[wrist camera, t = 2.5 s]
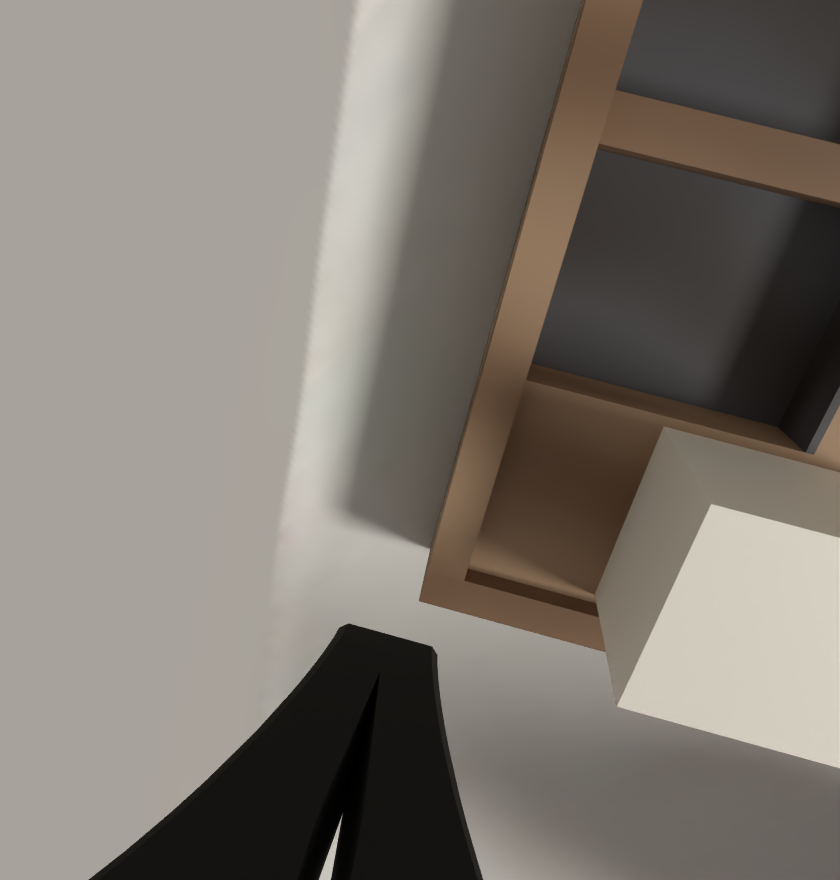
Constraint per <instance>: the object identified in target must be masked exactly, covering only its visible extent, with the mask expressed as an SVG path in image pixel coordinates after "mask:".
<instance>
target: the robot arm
mask: <svg viewBox="0 0 840 880" xmlns="http://www.w3.org/2000/svg"><path fill="white" fill-rule="evenodd" d="M342 814H343V815H342ZM341 816H342V821H341V826H340V832H339V838H338V843H337V849H336V855H335V860H334V866H333V871H332V877H331V880H483V878H482V874H481V871H480V868H479V865H478V861H477V858H476V854H475V851H474V847H473V844H472V840H471V837H470V833H469V830H468V827H467V823H466V819H465V815H464V811H463V807H462V804H461V800H460V796H459V791H458V787H457V783H456V778H455V774H454V769H453V765H452V761H451V756H450V752H449V747H448V742H447V737H446V731H445V725H444V719H443V713H442V707H441V700H440V692H439V682H438V668H437V654H436V652H435V651H434V649H433V647H432V646H428V645H425V644H421V643H417V642H414V641H410V640H406V639H403V638H399V637H396V636H392V635H388V634H385V633H381V632H377V631H374V630H370V629H367V628H363V627H359V626H356V625H352V624H346V625H344V626H342V627H340V628H339V629H338V631H337V633H336V634H335V636H334V638H333V639H332V641H331V642H330V644H329V645H328V647H327V648H326V649H325V651H324V652H323V654H322V655H321V656H320V658H319V659H318V660H317V662H316V663H315V664H314V666H313V667H312V668H311V669H310V671H309V672H308V673H307V674H306V675H305V677H304V678H303V679H302V680H301V682H300V683H299V684H298V685H297V686H296V688H295V689H294V690H293V691H292V692H291V693H290V694H289V695H288V697H287V698H286V699H285V700H284V701H283V702H282V703H281V704H280V705H279V707H278V708H277V709H276V710H275V711H274V712H273V713H272V714H271V715H270V717H269V718H268V719H267V720H266V721H265V722H264V723H263V724H262V725H261V726H260V727H259V729H258V730H257V731H256V732H255V733H254V734H253V735H252V736H251V737H250V738H249V739H248V740H247V741H246V742H245V743H244V744H243V745H242V746H241V747H240V748H239V749H238V750H237V751H236V752H235V753H234V754H233V755H232V756H231V757H230V758H229V759H227V761H226V762H224V763H223V764H222V765H221V766H220V767H219V769H217V770H216V771H215V772H214V773H213V774H212V775H211V776H210V777H209V778H208V779H207V780H206V781H205V782H204V783H203V784H202V785H201V786H200V787H199V788H197V789H196V790H195V791H194V792H193V793H192V794H191V795H190V796H189V797H187V798H186V800H184V801H183V802H182V803H181V804H180V805H179V806H178V807H177V808H175V809H174V810H173V811H172V812H171V813H170V814H169V815H167V816H166V817H165V818H164V819H163V820H161V821H160V822H159V823H158V824H157V825H156V826H154V827H153V828H152V829H151V830H150V831H148V832H147V833H146V834H145V835H144V836H143V837H141V838H140V839H139V840H138V841H137V842H136V843H134V844H133V845H132V846H131V847H130V848H128V849H127V850H126V851H125V852H123V853H122V854H121V855H120V856H118V857H117V858H116V859H114V860H113V861H112V862H111V863H109V864H108V865H107V866H106V867H104V868H103V869H102V870H101V871H99V872H98V873H97V874H95V875H94V876H93V877H92V878H90V879H89V880H319V877H320V875H321V872H322V869H323V866H324V864H325V861H326V858H327V855H328V852H329V850H330V847H331V844H332V841H333V839H334V836H335V833H336V830H337V827H338V825H339V822H340V819H341Z"/></svg>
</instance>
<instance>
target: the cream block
mask: <svg viewBox="0 0 840 880" xmlns="http://www.w3.org/2000/svg"><path fill="white" fill-rule="evenodd" d="M595 599H596V604H597V609H598V614H599V619H600V624H601V629H602V634H603V639H604V645H605V650H606V655H607V660H608V665H609V670H610V675H611V680H612V685H613V690H614V695H615V700H616V705H617V707H620V708H624V709H627V710H631V711H634V712H638V713H642V714H645V715H649V716H653V717H656V718H660V719H663V720H667V721H671V722H674V723H678V724H681V725H685V726H689V727H692V728H696V729H700V730H703V731H707V732H710V733H714V734H718V735H721V736H725V737H729V738H732V739H736V740H739V741H743V742H747V743H750V744H754V745H757V746H761V747H765V748H768V749H772V750H776V751H779V752H783V753H786V754H790V755H794V756H797V757H801V758H805V759H808V760H812V761H815V762H819V763H823V764H826V765H830V766H833V767H837V768H840V472H837V471H833V470H829V469H825V468H821V467H817V466H814V465H810V464H806V463H802V462H798V461H794V460H791V459H787V458H783V457H779V456H775V455H771V454H768V453H764V452H760V451H756V450H752V449H748V448H745V447H741V446H737V445H733V444H729V443H725V442H722V441H718V440H714V439H710V438H706V437H702V436H698V435H695V434H691V433H687V432H683V431H679V430H675V429H672V428H668V427H663V429H662V432H661V434H660V436H659V439H658V441H657V444H656V446H655V449H654V451H653V454H652V456H651V458H650V461H649V463H648V466H647V468H646V471H645V473H644V476H643V478H642V480H641V483H640V485H639V488H638V490H637V493H636V495H635V498H634V500H633V502H632V505H631V507H630V510H629V512H628V515H627V517H626V519H625V522H624V524H623V527H622V529H621V532H620V534H619V537H618V539H617V541H616V544H615V546H614V549H613V551H612V554H611V556H610V559H609V561H608V563H607V566H606V568H605V571H604V573H603V576H602V578H601V580H600V583H599V585H598V588H597V590H596V593H595Z"/></svg>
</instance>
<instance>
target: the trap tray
mask: <svg viewBox="0 0 840 880" xmlns="http://www.w3.org/2000/svg"><path fill="white" fill-rule="evenodd" d="M663 427H668V428H672V429H675V430H679V431H683V432H687V433H691V434H695V435H698V436H702V437H706V438H710V439H714V440H718V441H722V442H725V443H729V444H733V445H737V446H741V447H745V448H748V449H752V450H756V451H760V452H764V453H768V454H771V455H775V456H779V457H783V458H787V459H791V460H794V461H798V462H802V463H806V464H810V465H814V466H817V467H821V468H825V469H829V470H833V471H837V472H840V0H582V3H581V6H580V10H579V13H578V17H577V21H576V24H575V28H574V32H573V35H572V39H571V42H570V46H569V50H568V53H567V57H566V60H565V64H564V68H563V71H562V75H561V79H560V82H559V86H558V89H557V93H556V97H555V100H554V104H553V107H552V111H551V115H550V118H549V122H548V126H547V129H546V133H545V136H544V140H543V144H542V147H541V151H540V154H539V158H538V162H537V165H536V169H535V173H534V176H533V180H532V183H531V187H530V191H529V194H528V198H527V202H526V205H525V209H524V212H523V216H522V220H521V223H520V227H519V230H518V234H517V238H516V241H515V245H514V249H513V252H512V256H511V259H510V263H509V267H508V270H507V274H506V277H505V281H504V285H503V288H502V292H501V296H500V299H499V303H498V306H497V310H496V314H495V317H494V321H493V324H492V328H491V332H490V335H489V339H488V343H487V346H486V350H485V353H484V357H483V361H482V364H481V368H480V371H479V375H478V379H477V382H476V386H475V390H474V393H473V397H472V400H471V404H470V408H469V411H468V415H467V418H466V422H465V426H464V429H463V433H462V437H461V440H460V444H459V447H458V451H457V455H456V458H455V462H454V466H453V469H452V473H451V476H450V480H449V484H448V487H447V491H446V494H445V498H444V502H443V505H442V509H441V513H440V516H439V520H438V523H437V527H436V531H435V534H434V538H433V541H432V545H431V549H430V553H429V557H428V562H427V566H426V571H425V575H424V580H423V585H422V589H421V594H420V598H419V601H421V602H424V603H428V604H432V605H435V606H439V607H443V608H446V609H450V610H454V611H457V612H461V613H465V614H468V615H472V616H476V617H479V618H483V619H487V620H490V621H494V622H497V623H501V624H505V625H508V626H512V627H516V628H519V629H523V630H527V631H530V632H534V633H538V634H541V635H545V636H549V637H552V638H556V639H560V640H563V641H567V642H571V643H574V644H578V645H582V646H585V647H589V648H593V649H596V650H600V651H604V652H606V650H605V645H604V639H603V634H602V629H601V624H600V619H599V614H598V609H597V604H596V599H595V593H596V590H597V588H598V585H599V583H600V580H601V578H602V576H603V573H604V571H605V568H606V566H607V563H608V561H609V559H610V556H611V554H612V551H613V549H614V546H615V544H616V541H617V539H618V537H619V534H620V532H621V529H622V527H623V524H624V522H625V519H626V517H627V515H628V512H629V510H630V507H631V505H632V502H633V500H634V498H635V495H636V493H637V490H638V488H639V485H640V483H641V480H642V478H643V476H644V473H645V471H646V468H647V466H648V463H649V461H650V458H651V456H652V454H653V451H654V449H655V446H656V444H657V441H658V439H659V436H660V434H661V432H662V429H663Z"/></svg>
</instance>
